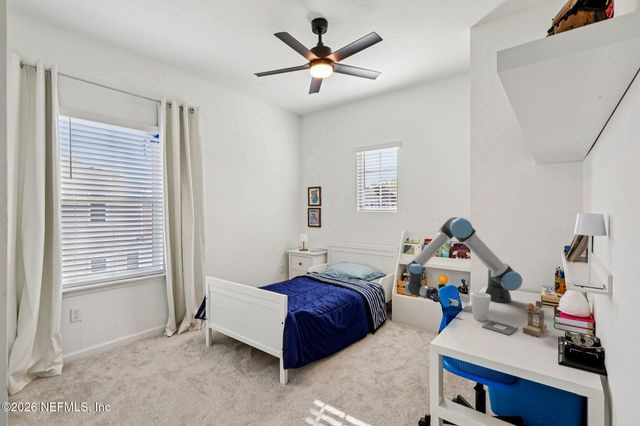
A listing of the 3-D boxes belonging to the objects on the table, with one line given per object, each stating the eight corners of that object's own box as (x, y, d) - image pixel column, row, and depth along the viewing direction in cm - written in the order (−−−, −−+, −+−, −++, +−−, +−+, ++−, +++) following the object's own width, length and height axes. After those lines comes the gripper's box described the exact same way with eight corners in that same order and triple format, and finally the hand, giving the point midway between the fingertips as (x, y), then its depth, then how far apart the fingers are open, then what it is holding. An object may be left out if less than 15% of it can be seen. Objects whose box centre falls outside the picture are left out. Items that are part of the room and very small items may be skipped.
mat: (491, 321, 161) (491, 320, 161) (517, 329, 152) (517, 327, 152) (482, 327, 153) (482, 325, 153) (508, 335, 144) (508, 334, 144)
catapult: (532, 325, 157) (533, 296, 156) (546, 329, 152) (547, 298, 152) (520, 334, 146) (522, 302, 146) (535, 338, 141) (537, 305, 141)
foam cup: (492, 322, 160) (493, 297, 160) (473, 320, 162) (474, 296, 162) (486, 316, 170) (487, 292, 169) (468, 314, 171) (469, 291, 171)
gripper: (439, 295, 197) (473, 303, 180) (417, 302, 181) (452, 312, 164) (439, 283, 196) (473, 291, 180) (417, 289, 180) (453, 298, 164)
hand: (463, 301), depth 172 cm, fingers open, 13 cm apart
